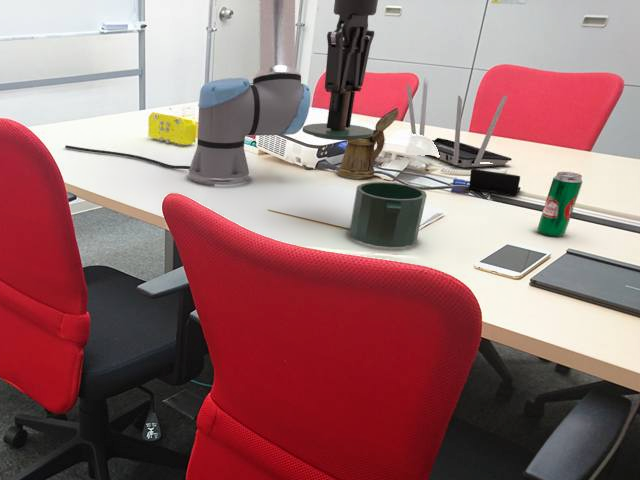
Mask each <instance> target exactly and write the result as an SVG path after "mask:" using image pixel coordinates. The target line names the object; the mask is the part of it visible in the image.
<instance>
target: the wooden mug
mask: <svg viewBox="0 0 640 480" xmlns="http://www.w3.org/2000/svg"><path fill="white" fill-rule="evenodd" d="M398 118H399V108H398V107H396V108H394V109H391V110H390V111H389V112H386V113H385V114H384V115H383V116H382V117H380V119H379V120H378V121H377V122H376V124H375V127H374V129H372V130H373V131H374V133H373V136H371V137H367V138H361V139H357V140H346V142H347V143H346V146H345V150H344V153H343V156H342V160H341V163H340V166H339V167H338V171H337V175H338V176H340V177H342V178H347V179H353V180H368V179H372V178H373V177H374V175H375V171H376V170H375V168H374V163H375V161H376V159H377V158H379V155H380V154H381V153H382V151H383V149H384V147H385V133H384V131H385V130H387V128H389V127H390V126H391V125H393V123H394V122H395V121H396V120H397V119H398ZM375 146H376V148H375Z"/></svg>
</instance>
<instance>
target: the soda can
mask: <svg viewBox="0 0 640 480" xmlns="http://www.w3.org/2000/svg"><path fill="white" fill-rule="evenodd" d="M582 178H583V175H582V174H580V173H577V172H571V171H558V172H557V173H556V175H555V176H554V177H553V178H552V181H551V184H550V187H549V191H548V194H547V196H546V200H545V204H544V206H543V209H542V213H541V216H540V219H539V222H538V225H537V228H536V229H537V231H538V233H539V234H541V235H543V236H547V237H554V238H556V237H558V238H559V237H562V236H563V235H565V234H566V232H567V228H568V226H569V222H570V221H571V217H572V214H573V212H574V208H575V205H576V203H577V200H578V197H579V193H580V191H581V188H582V185H583V179H582Z"/></svg>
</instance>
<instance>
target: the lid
mask: <svg viewBox="0 0 640 480" xmlns="http://www.w3.org/2000/svg"><path fill="white" fill-rule="evenodd" d="M343 93H346V96H345V103H344V110H343V117H342V124H341V129H340V130H337V129H330V128H327V122H325V123H321V122H320V123H310V124H306V125H303V127H302V132H303V133H304V134H307V135H310V136H312V137H316V138H319V139H323V140H324V139H325V140H330V141H331V140H332V141H347V140H357V139H361V138H367V137H371V136H373V133H374V131H373V130H374V129H372V128H369V127H365V126H363V125H362V126H361V125H356V124H350V127H349V128H346V121H347V114H348V107H349V101H350V94H351V91H347V90H344V91H343Z"/></svg>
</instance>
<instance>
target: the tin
mask: <svg viewBox="0 0 640 480" xmlns="http://www.w3.org/2000/svg"><path fill="white" fill-rule="evenodd" d="M427 196H428V195H427V192H426V191H424V190H423V189H422V188H419V187H416V186H413V185H409V184H403V183H398V182H389V181H388V182H387V181H371V182H370V181H369V182H365V183H360V184H359V185H357V186H356V190H355V195H354V201H353V207H352V213H351V219H350V225H349V232H348V233H349V236H350V237H351V238H353V239H354V240H355V241H358V242H361V243H363V244H367V245H370V246H375V247H382V248H383V247H384V248H385V247H386V248H403V247H408V246H412V245H414V244H416V242H417V240H418V236H419V231H420V227H421V222H422V218H423V214H424V209H425V205H426V200H427Z"/></svg>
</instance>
